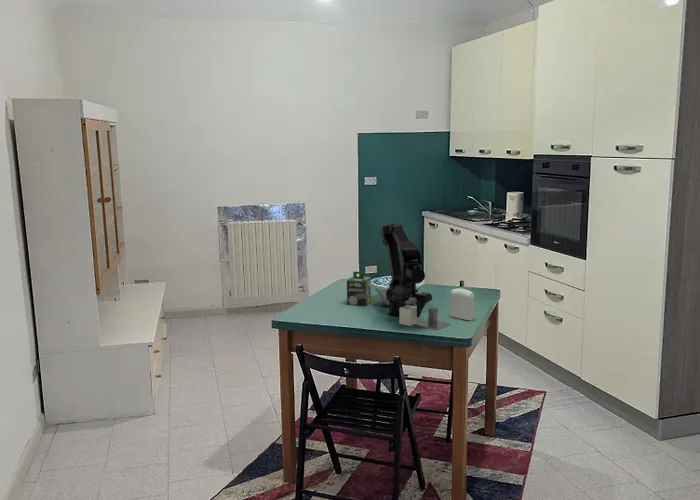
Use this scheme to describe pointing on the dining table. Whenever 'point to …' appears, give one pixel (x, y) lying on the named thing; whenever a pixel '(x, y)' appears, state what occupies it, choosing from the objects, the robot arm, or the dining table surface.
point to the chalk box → (358, 290)
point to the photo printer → (462, 304)
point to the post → (432, 321)
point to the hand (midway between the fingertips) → (408, 315)
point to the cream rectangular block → (408, 315)
